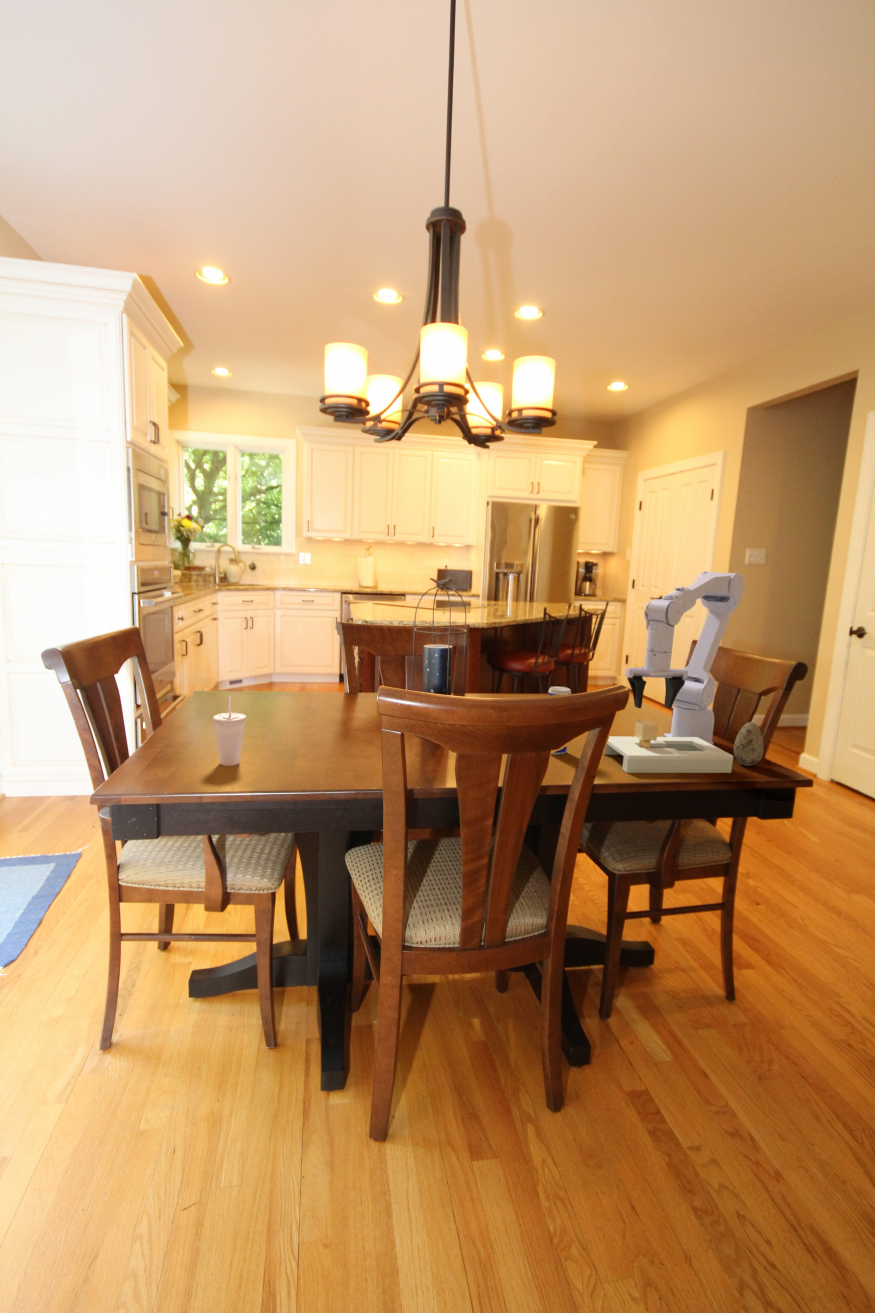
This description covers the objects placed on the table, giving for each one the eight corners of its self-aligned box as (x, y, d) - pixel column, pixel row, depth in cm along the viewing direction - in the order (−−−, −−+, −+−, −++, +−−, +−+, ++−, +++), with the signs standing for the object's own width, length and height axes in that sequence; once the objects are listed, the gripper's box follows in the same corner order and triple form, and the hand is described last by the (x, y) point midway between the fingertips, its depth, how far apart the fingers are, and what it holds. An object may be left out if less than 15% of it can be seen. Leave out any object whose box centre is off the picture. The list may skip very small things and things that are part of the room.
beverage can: (565, 749, 143) (570, 687, 140) (567, 756, 138) (573, 691, 135) (542, 747, 143) (547, 685, 141) (544, 754, 138) (549, 690, 136)
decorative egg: (750, 760, 141) (755, 719, 139) (766, 769, 135) (772, 726, 133) (726, 760, 140) (731, 718, 138) (742, 769, 134) (747, 725, 133)
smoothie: (214, 769, 118) (214, 699, 116) (211, 759, 124) (210, 692, 122) (248, 766, 121) (248, 697, 119) (244, 756, 127) (244, 691, 125)
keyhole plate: (695, 752, 145) (697, 737, 145) (731, 772, 132) (733, 755, 131) (600, 752, 142) (601, 736, 141) (626, 772, 128) (628, 755, 128)
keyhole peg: (648, 757, 140) (652, 719, 138) (661, 766, 134) (666, 726, 132) (624, 757, 139) (628, 719, 137) (636, 766, 133) (640, 726, 132)
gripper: (637, 652, 137) (631, 711, 139) (697, 654, 139) (690, 712, 141) (623, 648, 144) (618, 703, 146) (681, 649, 146) (674, 704, 148)
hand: (652, 707), depth 144 cm, fingers open, 7 cm apart
